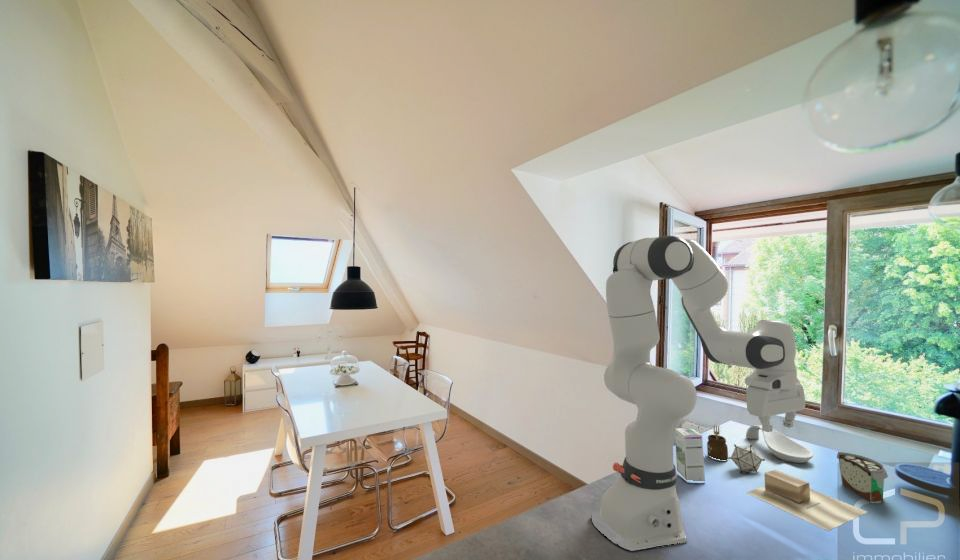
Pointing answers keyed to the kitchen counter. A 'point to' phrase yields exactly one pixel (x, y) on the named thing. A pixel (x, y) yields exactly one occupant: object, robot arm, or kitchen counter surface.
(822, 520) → the board
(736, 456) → the game die
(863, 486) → the food container
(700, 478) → the syrup box
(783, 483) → the block
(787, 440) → the spoon rest
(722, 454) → the utensil holder
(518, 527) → the kitchen counter surface
